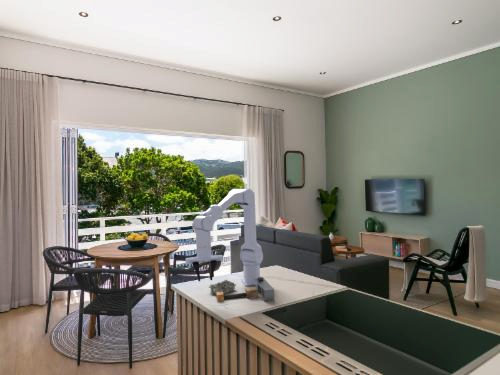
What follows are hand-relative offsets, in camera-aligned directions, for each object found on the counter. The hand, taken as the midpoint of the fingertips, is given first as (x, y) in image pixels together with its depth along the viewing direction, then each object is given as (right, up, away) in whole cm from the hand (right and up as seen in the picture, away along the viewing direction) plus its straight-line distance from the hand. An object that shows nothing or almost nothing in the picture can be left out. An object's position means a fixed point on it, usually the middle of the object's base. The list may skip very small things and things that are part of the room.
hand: (205, 280), depth 137 cm
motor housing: (+24, -7, +6) cm, 25 cm away
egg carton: (+6, -8, +12) cm, 16 cm away
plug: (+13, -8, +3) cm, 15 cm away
